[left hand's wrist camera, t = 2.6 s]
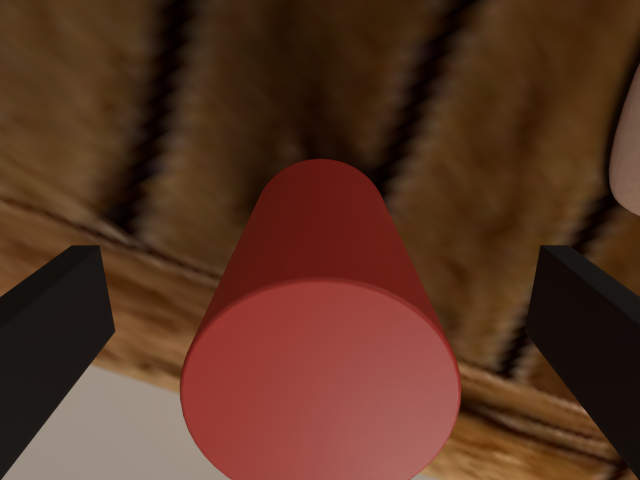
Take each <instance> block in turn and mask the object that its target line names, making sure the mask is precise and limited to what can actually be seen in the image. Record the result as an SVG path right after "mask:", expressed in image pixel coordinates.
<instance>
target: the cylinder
mask: <svg viewBox="0 0 640 480" xmlns="http://www.w3.org/2000/svg"><path fill="white" fill-rule="evenodd" d="M460 399H461V380H460V372H459V368H458V364H457V360H456V358H455V355H454V353H453V351H452V348H451V346H450V344H449V341H448V339H447V337H446V335H445V333H444V331H443V328H442V326H441V324H440V322H439V320H438V318H437V316H436V313H435V311H434V309H433V307H432V305H431V303H430V300H429V298H428V296H427V294H426V292H425V290H424V287H423V285H422V283H421V281H420V279H419V277H418V274H417V272H416V270H415V268H414V266H413V264H412V262H411V259H410V257H409V255H408V253H407V251H406V249H405V246H404V244H403V242H402V240H401V238H400V236H399V233H398V231H397V229H396V227H395V225H394V223H393V220H392V218H391V216H390V214H389V212H388V210H387V208H386V205H385V203H384V201H383V199H382V197H381V195H380V193H379V191H378V190H377V188H376V186H375V185H374V184H373V183H372V181H371V180H370V179H369V178H368V177H367V176H365V175H364V174H363V173H362V172H360V171H359V170H357V169H356V168H354V167H352V166H350V165H348V164H345V163H343V162H340V161H335V160H330V159H311V160H305V161H301V162H298V163H295V164H293V165H291V166H289V167H287V168H285V169H283V170H282V171H280V172H279V173H278V174H277V175H275V176H274V177H273V178H272V179H271V180H270V181H269V182H268V184H267V185H266V186H265V188H264V189H263V191H262V192H261V194H260V197H259V199H258V201H257V203H256V205H255V207H254V209H253V212H252V214H251V216H250V218H249V220H248V222H247V224H246V227H245V229H244V231H243V233H242V235H241V237H240V240H239V242H238V244H237V246H236V248H235V250H234V253H233V255H232V257H231V259H230V261H229V263H228V266H227V268H226V270H225V272H224V274H223V276H222V279H221V281H220V283H219V285H218V287H217V289H216V292H215V294H214V296H213V298H212V300H211V302H210V305H209V307H208V309H207V311H206V313H205V315H204V318H203V320H202V322H201V324H200V326H199V328H198V330H197V333H196V335H195V337H194V339H193V341H192V343H191V346H190V348H189V350H188V352H187V354H186V358H185V361H184V364H183V367H182V372H181V380H180V401H181V406H182V411H183V416H184V419H185V422H186V425H187V428H188V430H189V432H190V434H191V436H192V438H193V440H194V442H195V444H196V445H197V446H198V448H199V449H200V450H201V452H202V453H203V455H204V456H205V457H206V458H207V459H208V460H209V461H210V462H211V463H212V464H213V465H214V466H215V467H216V468H217V469H218V470H219V471H221V472H222V473H223V474H224V475H226V476H227V477H228V478H230V479H231V480H410V479H411V478H413V477H414V476H415V475H417V474H418V473H419V472H421V471H422V470H423V469H424V468H425V467H426V466H427V465H428V464H429V463H430V462H431V461H432V460H433V459H434V458H435V457H436V456H437V454H438V453H439V452H440V451H441V449H442V448H443V446H444V445H445V443H446V441H447V440H448V438H449V436H450V435H451V432H452V430H453V427H454V425H455V423H456V419H457V415H458V411H459V407H460Z"/></svg>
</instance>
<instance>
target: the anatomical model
mask: <svg viewBox="0 0 640 480" xmlns="http://www.w3.org/2000/svg"><path fill="white" fill-rule="evenodd" d="M609 183H610V187H611V191H612V193H613V195H614V197H615V199H616V200H617V201H618V202H619V203H620V204H621V205H622V206H623V207H624V208H626V209H627V210H629V211H630V212H632V213H634V214H637V215H639V216H640V63H639V66H638V68H637V70H636V72H635V75H634V78H633V81H632V83H631V86H630V89H629V92H628V95H627V97H626V100H625V103H624V106H623V109H622V113H621V116H620V120H619V123H618V126H617V130H616V133H615V138H614V142H613V147H612V152H611V157H610V164H609Z"/></svg>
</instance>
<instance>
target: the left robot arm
mask: <svg viewBox="0 0 640 480" xmlns="http://www.w3.org/2000/svg"><path fill="white" fill-rule="evenodd" d="M114 333H115V327H114V322H113V316H112V311H111V305H110V300H109V295H108V289H107V284H106V278H105V273H104V268H103V262H102V257H101V251H100V246H99V245H72V246H70V247H69V248H68V249H66V250H65V251H63V252H62V253H61V254H59V255H58V256H57V257H55V258H54V259H52V260H51V261H50V262H48V263H47V264H45V265H44V266H43V267H41V268H40V269H39V270H37V271H36V272H34V273H33V274H32V275H30V276H29V277H27V278H26V279H25V280H23V281H22V282H21V283H19V284H18V285H16V286H15V287H14V288H12V289H11V290H10V291H8V292H7V293H5V294H4V295H3V296H1V297H0V480H1V479H2V478H3V477H4V475H5V474H6V473H7V471H8V470H9V469H10V468H11V466H12V465H13V464H14V462H15V461H16V460H17V458H18V457H19V456H20V455H21V453H22V452H23V451H24V449H25V448H26V447H27V446H28V444H29V443H30V442H31V440H32V439H33V438H34V436H35V435H36V434H37V432H38V431H39V430H40V429H41V427H42V426H43V425H44V423H45V422H46V421H47V420H48V418H49V417H50V416H51V414H52V413H53V412H54V410H55V409H56V408H57V407H58V405H59V404H60V403H61V401H62V400H63V399H64V397H65V396H66V395H67V394H68V392H69V391H70V390H71V388H72V387H73V386H74V384H75V383H76V382H77V381H78V379H79V378H80V377H81V375H82V374H83V373H84V372H85V370H86V369H87V368H88V366H89V365H90V364H91V362H92V361H93V360H94V359H95V357H96V356H97V355H98V353H99V352H100V351H101V349H102V348H103V347H104V346H105V344H106V343H107V342H108V340H109V339H110V338H111V336H112V335H113V334H114ZM525 333H526V334H527V335H528V336H529V338H530V339H531V340H532V342H533V343H534V344H535V346H536V347H537V348H538V349H539V351H540V352H541V353H542V355H543V356H544V357H545V359H546V360H547V361H548V362H549V364H550V365H551V366H552V368H553V369H554V370H555V371H556V373H557V374H558V375H559V377H560V378H561V379H562V381H563V382H564V383H565V384H566V386H567V387H568V388H569V390H570V391H571V392H572V394H573V395H574V396H575V397H576V399H577V400H578V401H579V403H580V404H581V405H582V407H583V408H584V409H585V410H586V412H587V413H588V414H589V416H590V417H591V418H592V420H593V421H594V422H595V423H596V425H597V426H598V427H599V429H600V430H601V431H602V433H603V434H604V435H605V436H606V438H607V439H608V440H609V442H610V443H611V444H612V445H613V447H614V448H615V449H616V451H617V452H618V453H619V455H620V456H621V457H622V458H623V460H624V461H625V462H626V464H627V465H628V466H629V468H630V469H631V470H632V471H633V473H634V474H635V475H636V477H637V478H638V479H639V480H640V297H639V296H637V295H636V294H635V293H633V292H632V291H630V290H629V289H628V288H626V287H625V286H624V285H622V284H621V283H619V282H618V281H617V280H615V279H614V278H613V277H611V276H610V275H608V274H607V273H606V272H604V271H603V270H601V269H600V268H599V267H597V266H596V265H595V264H593V263H592V262H590V261H589V260H588V259H586V258H585V257H584V256H582V255H581V254H579V253H578V252H577V251H575V250H574V249H572V248H571V247H570V246H568V245H541V246H540V251H539V257H538V262H537V268H536V273H535V278H534V284H533V289H532V295H531V300H530V305H529V311H528V316H527V322H526V327H525Z"/></svg>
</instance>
